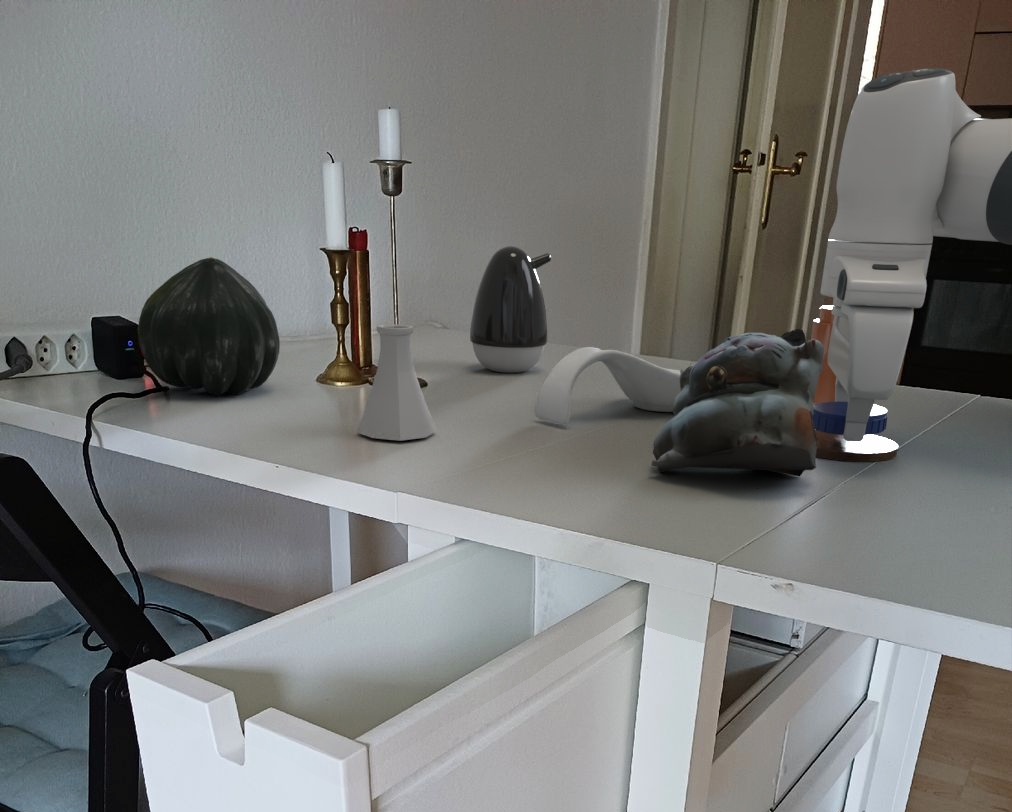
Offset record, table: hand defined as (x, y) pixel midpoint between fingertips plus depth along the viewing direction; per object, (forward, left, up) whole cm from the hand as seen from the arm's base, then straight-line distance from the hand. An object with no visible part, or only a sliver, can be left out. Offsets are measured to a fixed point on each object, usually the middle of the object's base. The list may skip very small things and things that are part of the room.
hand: (847, 431), depth 97 cm
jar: (-8, -25, -2) cm, 26 cm away
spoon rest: (+18, -16, -2) cm, 24 cm away
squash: (+64, -26, -2) cm, 69 cm away
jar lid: (0, 0, +2) cm, 2 cm away
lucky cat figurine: (+14, +9, -2) cm, 17 cm away
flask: (+43, -4, -2) cm, 43 cm away
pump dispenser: (+29, -44, -2) cm, 53 cm away
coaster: (0, 0, -2) cm, 2 cm away
